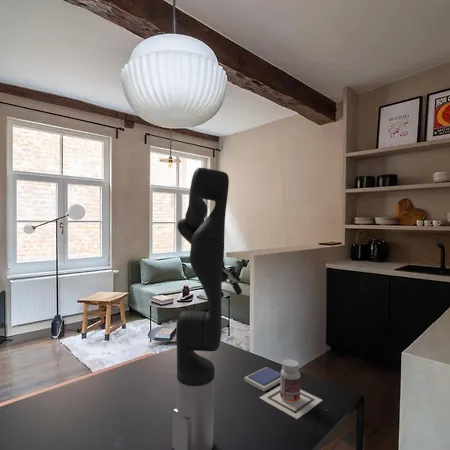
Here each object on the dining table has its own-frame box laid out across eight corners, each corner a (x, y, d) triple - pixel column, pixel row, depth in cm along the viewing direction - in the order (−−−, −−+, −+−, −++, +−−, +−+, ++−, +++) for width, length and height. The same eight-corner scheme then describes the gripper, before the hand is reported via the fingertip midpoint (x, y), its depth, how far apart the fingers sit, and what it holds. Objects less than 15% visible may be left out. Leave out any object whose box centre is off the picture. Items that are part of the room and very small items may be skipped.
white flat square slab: (297, 419, 88) (297, 418, 88) (259, 398, 98) (259, 397, 98) (322, 400, 98) (322, 399, 98) (285, 383, 108) (285, 382, 108)
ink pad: (263, 391, 102) (264, 386, 102) (244, 380, 109) (244, 376, 109) (285, 379, 110) (285, 374, 110) (266, 370, 117) (266, 365, 117)
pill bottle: (304, 400, 97) (304, 364, 97) (290, 406, 94) (291, 369, 94) (289, 391, 102) (290, 356, 102) (275, 396, 99) (276, 361, 99)
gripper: (199, 252, 106) (221, 292, 98) (229, 250, 116) (251, 286, 108) (189, 266, 110) (209, 305, 102) (219, 263, 120) (240, 298, 112)
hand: (231, 295), depth 105 cm, fingers open, 8 cm apart
